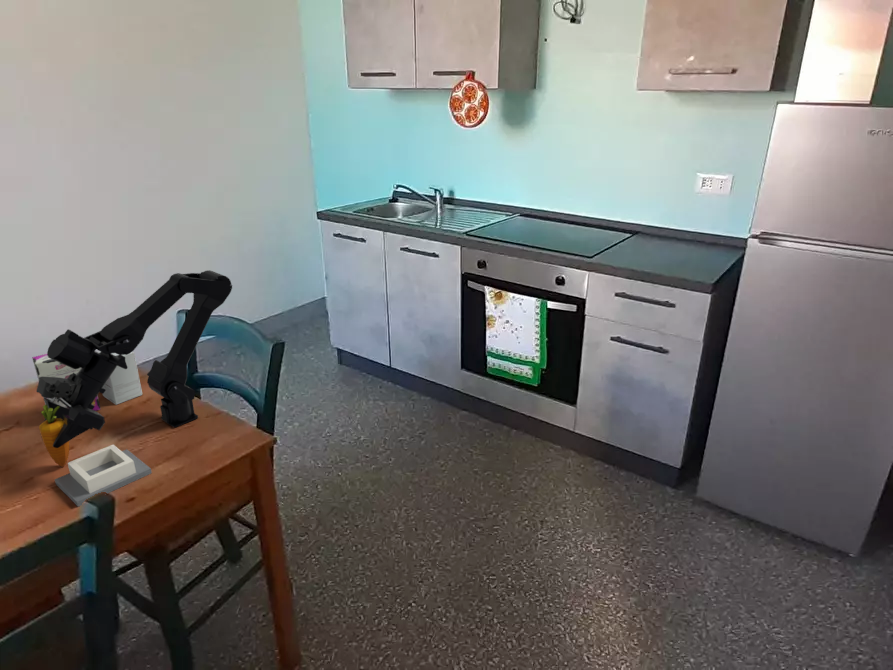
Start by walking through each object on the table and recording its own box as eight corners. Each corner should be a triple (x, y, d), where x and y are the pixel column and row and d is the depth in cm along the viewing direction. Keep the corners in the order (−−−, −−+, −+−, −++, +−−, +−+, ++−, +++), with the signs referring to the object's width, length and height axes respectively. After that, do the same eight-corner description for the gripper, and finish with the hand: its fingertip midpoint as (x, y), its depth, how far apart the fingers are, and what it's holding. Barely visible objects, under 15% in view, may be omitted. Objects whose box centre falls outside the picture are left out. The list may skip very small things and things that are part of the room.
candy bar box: (96, 402, 163) (83, 344, 156) (101, 410, 159) (88, 351, 153) (47, 415, 156) (31, 356, 150) (50, 424, 153) (34, 363, 146)
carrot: (52, 462, 139) (35, 402, 133) (77, 458, 140) (62, 398, 134) (47, 475, 134) (31, 414, 128) (74, 470, 136) (58, 410, 130)
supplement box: (129, 386, 171) (121, 344, 166) (143, 395, 167) (135, 351, 162) (101, 396, 166) (92, 352, 161) (115, 405, 162) (105, 361, 157)
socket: (127, 453, 142) (124, 437, 140) (151, 473, 136) (148, 456, 134) (55, 484, 132) (51, 467, 130) (78, 506, 125) (73, 489, 123)
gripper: (40, 349, 136) (-5, 413, 133) (77, 375, 125) (28, 446, 122) (86, 370, 145) (45, 430, 141) (124, 396, 134) (80, 462, 130)
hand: (48, 441), depth 133 cm, fingers open, 6 cm apart
